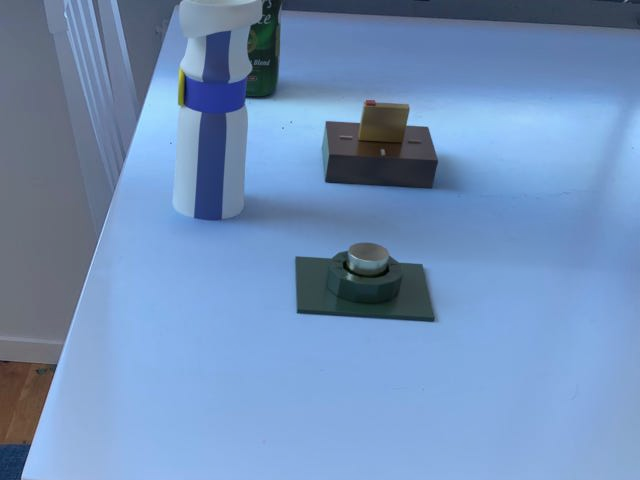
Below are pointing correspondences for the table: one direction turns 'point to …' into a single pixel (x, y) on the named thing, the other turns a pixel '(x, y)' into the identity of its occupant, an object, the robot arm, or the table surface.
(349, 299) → the dark green button base
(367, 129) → the lock knob
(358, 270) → the bell button
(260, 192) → the table surface
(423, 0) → the robot arm
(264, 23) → the coffee jar
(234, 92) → the water bottle
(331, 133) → the lock plate
